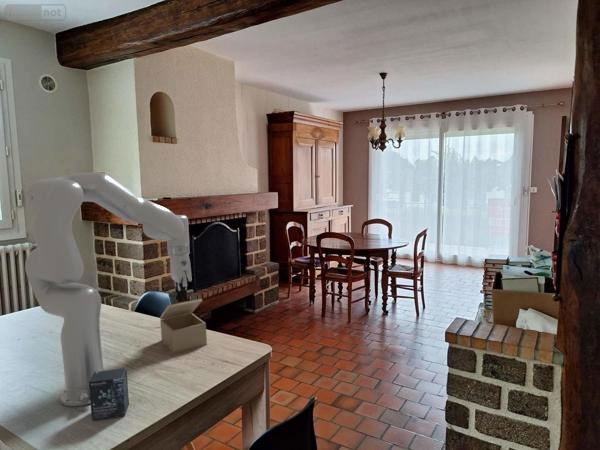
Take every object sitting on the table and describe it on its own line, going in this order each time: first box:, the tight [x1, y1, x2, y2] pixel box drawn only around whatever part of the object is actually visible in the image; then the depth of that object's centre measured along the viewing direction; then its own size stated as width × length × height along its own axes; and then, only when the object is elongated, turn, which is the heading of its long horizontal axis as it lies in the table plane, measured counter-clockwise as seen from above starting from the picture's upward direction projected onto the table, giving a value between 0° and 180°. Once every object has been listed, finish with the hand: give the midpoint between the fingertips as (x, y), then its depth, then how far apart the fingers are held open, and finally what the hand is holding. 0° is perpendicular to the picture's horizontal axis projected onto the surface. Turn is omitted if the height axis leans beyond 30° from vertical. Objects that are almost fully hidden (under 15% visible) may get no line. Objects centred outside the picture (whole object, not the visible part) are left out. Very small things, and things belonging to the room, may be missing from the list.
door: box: [159, 289, 203, 320], centre depth 147 cm, size 14×12×6 cm
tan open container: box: [159, 312, 208, 355], centre depth 146 cm, size 14×12×8 cm
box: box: [89, 367, 130, 421], centre depth 103 cm, size 8×6×11 cm
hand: (181, 300), depth 144 cm, fingers closed
